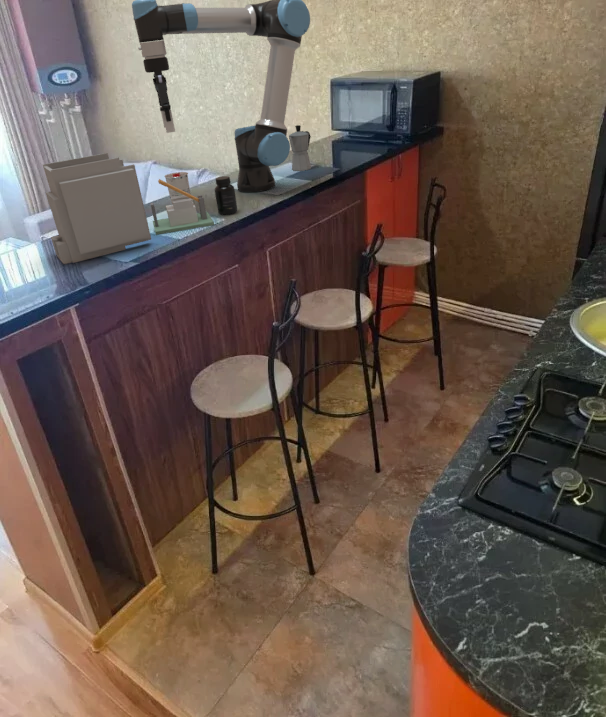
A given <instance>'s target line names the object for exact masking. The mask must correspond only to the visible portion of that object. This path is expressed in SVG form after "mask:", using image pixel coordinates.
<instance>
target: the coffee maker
mask: <svg viewBox="0 0 606 717" xmlns="http://www.w3.org/2000/svg"><path fill="white" fill-rule="evenodd" d="M294 126H295V132H293V133H290V134H289V135H288V141H289V143H290V150H291V151H292V160H291V161H292V162H291V163H292V164H291V171H293V172H304V171H305V170H306V171H309V170H312V166H311V165H312V164H311V159H310V156H309V153H308V150H309V146H310V141H311V134H310V132H309V130H306V131H304V130H302V131H301V126H302V125H301V124H299V125H294Z"/></svg>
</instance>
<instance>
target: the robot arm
mask: <svg viewBox="0 0 606 717" xmlns="http://www.w3.org/2000/svg"><path fill="white" fill-rule="evenodd" d="M131 8H132V9H131V10H132V15H133V21H134V25H135V30H136V34H137V37H138V43H139V45H140V46H138V51H141V55H142V56H141V57H142V58H144V59H143V61H142V62H143V66H144V72H146V73H153V77H154V78H152V81H153V82H152V83H153V85H154V88H155V92H156V93H157V97H158V104H159V111H160V113H161V117H162V123H163V127H164V128H165V131H166V132H165V133H167V134H169V133H175V132H176V129H175V122H174V118H173V113H172V110H171V104H170V99H169V95H168V85H167V84H168V83H167V78H166V77H165V76H164V74H163V72H165V71H169V70H170V65H169V61H168V58H167V56H166V55H167V49H166V43H165V39H164V36H166V35H182V34H185V35H186V34H188V35H189V34H191V35H192V34H238V33H239V34H241V33H242V34H243V33H245V34H247V36H249V37H252V36H253V37H257V36H258V37H265V38H267V42H268V43H269V44H270V50H269V54H268V63H267V69H266V70H267V72H266V77H265V86H264V93H263V100H262V107H261V114H260V119H259V120H258V121H257V122H256V123H255V125H250V126H243V127H237V128H235V130H234V141H235V147H236V148H235V149H236V155H237V161H238V162H237V163H238V168H239V169H238V175H237V182H236V186H237V188H236V189H237V191H238V192H243V193H257V192H263V191H268V190H271V189H274V188H275V187H276V180H275V178H274V175H273V173H272V169H271V168H270V167H276V166H279V165H282V164H283V163H284V162H286V160H287V158H288V157H289V154H290V153H291V152H290V151H291V144H290V140H289V137H287V136H288V134H287V133H288V127H287V126H286V125H285V119H286V113H287V106H288V100H289V94H290V93H289V92H290V88H291V87H290V86H291V80H292V73H293V66H294V59H295V53H296V50H297V49H299V48H300V47H301V43H302V36H303V35H305V34H306V33H307V32H308V30H309V28H310V24H311V15H310V11H309V8H308V6H307V4H306V2H304V1H303V0H268V1H263V2H260V3H251V4H250V3H249V4H248V3H247V4H246V5H245V6H244V7H195V6H194V4H192V3H176V4H166V5H159V4H158V3H157V0H133V1H132V2H131Z"/></svg>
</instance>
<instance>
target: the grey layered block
mask: <svg viewBox="0 0 606 717" xmlns="http://www.w3.org/2000/svg"><path fill="white" fill-rule="evenodd" d="M124 164H125V163H124V160H123V159H120V158H119V157H113V158H110V156H109V153H108V152H106V153H99V154H94V155H88V156H87V155H86V156H82V157H77V158H71V159H66V160H62V161H54V162H50V163H43V164H42V167H43V171H44V174H45V177H46V181H47V183H48V187H49V190H50V191H46V192H45V195H46V198H47V202H48V204H49V208H50V211H51V214H52V218H53V221H54V225H55V227H56V231H57V234H58V235H55V236H54V235H53V236H50V239H51V242H52V244H53V245H52V246H53V248H54V251H55V254H56V256H57V258H58V259H59V260H60V261H61V263H62V264H63V265H66V264H67V265H68V264H71V263H77V262H82V261H86V260H89V259H93V258H98V257H102V256H105V255H106V256H107V255H110V254H113V253H117V252H122V251H125V250H127V248H126V247H127V246H131V245H135V244H139V243H143V242H144V243H145V242H147V241H151V240H152V237H151V236H152V235H151V231H150V228H149V222H148V218H147V214H146V211H145V210H146V209H145V205H144V201H143V195H142V193H141V187H140V183H139V178H138V174H137V170H136V165H135V164H133V163H132V164H129V165H124Z"/></svg>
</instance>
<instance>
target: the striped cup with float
mask: <svg viewBox="0 0 606 717" xmlns="http://www.w3.org/2000/svg"><path fill="white" fill-rule="evenodd" d="M164 178H165V182H166V183H168V184H170V185H172V186H174V187H176V188H178V189H180V190H182V191H184V192H186V193H188V194H190V195H192V194H191V188H190V181H189V172H186V171H178V172H177V171H176V172H171V173H167V174H165V175H164ZM167 191H168V194H169V195H168V196H169V198H170V202H171V203H172V200H171V197H177V196H184V195H183V194H181V193H179V192H177V191H175V190H172V189H170V188H168V187H167Z"/></svg>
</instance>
